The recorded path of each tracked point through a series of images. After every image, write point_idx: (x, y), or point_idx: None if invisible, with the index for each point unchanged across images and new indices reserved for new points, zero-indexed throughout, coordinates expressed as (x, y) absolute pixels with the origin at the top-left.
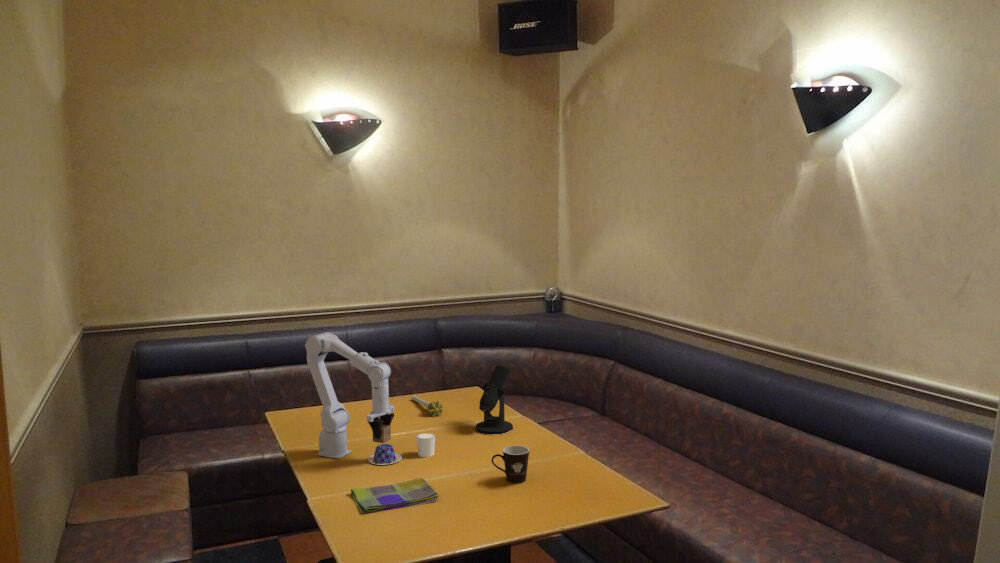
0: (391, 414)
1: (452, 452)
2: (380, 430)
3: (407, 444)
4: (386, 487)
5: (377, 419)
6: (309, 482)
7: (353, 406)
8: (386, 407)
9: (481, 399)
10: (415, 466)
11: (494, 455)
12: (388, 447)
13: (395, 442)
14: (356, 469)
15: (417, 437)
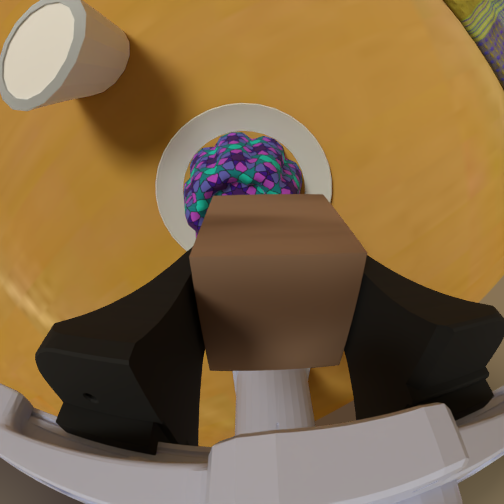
0: (97, 376)
1: None
2: (378, 270)
3: (50, 217)
4: (502, 49)
5: (451, 392)
6: (480, 297)
7: None
8: None
9: None
10: (259, 4)
11: None
12: (226, 194)
13: (66, 270)
14: (391, 240)
15: (70, 65)
